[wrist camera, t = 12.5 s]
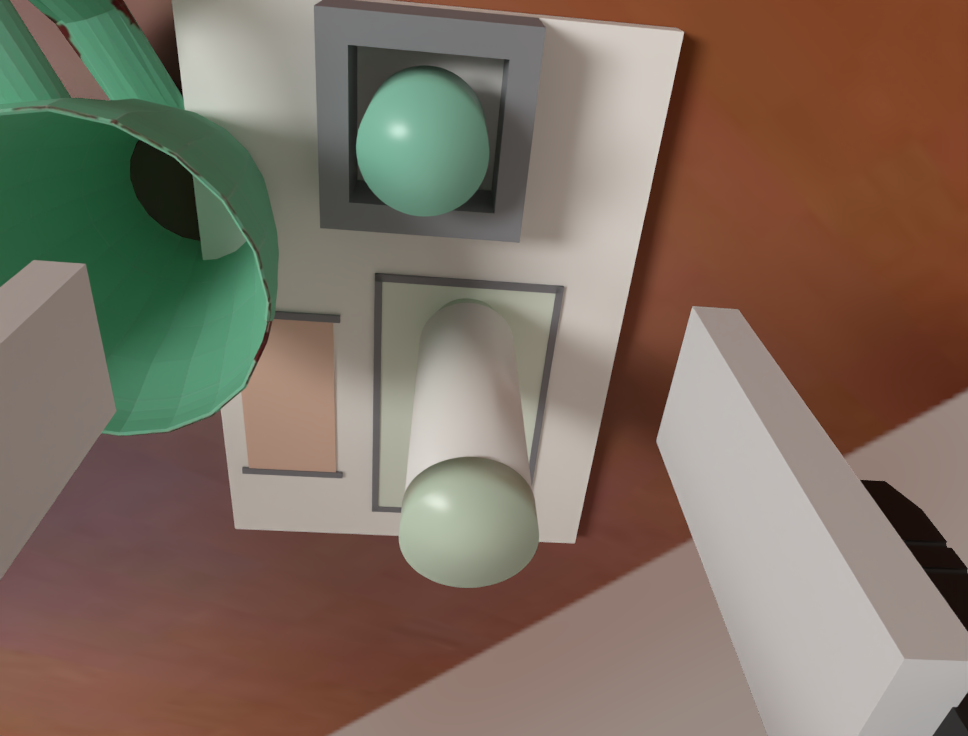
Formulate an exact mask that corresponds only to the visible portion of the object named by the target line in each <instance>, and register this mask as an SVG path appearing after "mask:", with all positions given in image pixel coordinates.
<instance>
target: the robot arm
mask: <svg viewBox="0 0 968 736" xmlns="http://www.w3.org/2000/svg"><path fill="white" fill-rule="evenodd" d="M115 413H116V407H115V402H114V397H113V392H112V387H111V383H110V378H109V373H108V368H107V363H106V359H105V354H104V349H103V344H102V339H101V335H100V330H99V325H98V320H97V315H96V311H95V306H94V301H93V296H92V291H91V287H90V282H89V277H88V272H87V268H86V264H82V263H68V262H54V261H39V260H33V261H32V262H31V263H29V264H28V265H27V266H26V267H24V268H23V269H22V270H21V271H20V272H18V273H17V274H16V275H15V276H13V277H12V278H11V279H10V280H9V281H7V282H6V283H5V284H4V285H2V286H1V287H0V580H1V579H2V577H3V576H4V574H5V573H6V571H7V570H8V568H9V567H10V565H11V564H12V562H13V561H14V560H15V558H16V557H17V555H18V554H19V552H20V551H21V549H22V548H23V546H24V545H25V544H26V542H27V541H28V539H29V538H30V536H31V535H32V533H33V532H34V530H35V529H36V528H37V526H38V525H39V523H40V522H41V520H42V519H43V517H44V516H45V514H46V513H47V512H48V510H49V509H50V507H51V506H52V504H53V503H54V501H55V500H56V498H57V497H58V496H59V494H60V493H61V491H62V490H63V488H64V487H65V485H66V484H67V482H68V481H69V479H70V478H71V477H72V475H73V474H74V472H75V471H76V469H77V468H78V466H79V465H80V463H81V462H82V461H83V459H84V458H85V456H86V455H87V453H88V452H89V450H90V449H91V447H92V446H93V445H94V443H95V442H96V440H97V439H98V437H99V436H100V434H101V433H102V431H103V430H104V429H105V427H106V426H107V424H108V423H109V421H110V420H111V418H112V417H113V415H114V414H115ZM656 442H657V445H658V447H659V450H660V453H661V455H662V458H663V461H664V463H665V466H666V469H667V471H668V474H669V477H670V479H671V482H672V484H673V487H674V490H675V492H676V495H677V498H678V500H679V503H680V506H681V508H682V511H683V514H684V516H685V519H686V522H687V524H688V527H689V529H690V532H691V535H692V537H693V540H694V543H695V545H696V548H697V550H698V553H699V556H700V559H701V561H702V564H703V566H704V569H705V572H706V574H707V577H708V580H709V582H710V585H711V587H712V590H713V593H714V596H715V598H716V601H717V603H718V606H719V609H720V611H721V614H722V617H723V619H724V622H725V625H726V627H727V630H728V633H729V635H730V638H731V641H732V643H733V646H734V649H735V651H736V654H737V657H738V659H739V662H740V664H741V667H742V670H743V672H744V675H745V678H746V680H747V683H748V686H749V688H750V691H751V694H752V696H753V699H754V701H755V704H756V707H757V709H758V712H759V715H760V717H761V720H762V723H763V725H764V728H765V731H766V733H767V736H968V573H967V567H966V566H965V564H964V563H963V562H962V561H961V560H960V558H959V557H958V555H957V554H956V553H955V552H954V550H953V549H952V548H947V546H946V542H947V541H946V540H945V539H944V538H943V536H942V535H941V534H940V532H939V531H938V530H937V529H936V527H935V526H934V525H933V523H932V522H931V521H930V520H929V518H928V517H927V516H926V514H925V513H924V512H923V511H922V509H920V508H919V507H918V506H916V505H915V504H914V503H913V502H911V501H910V500H909V499H907V498H906V497H905V496H904V495H902V494H901V493H900V492H898V491H897V490H896V489H894V488H893V487H892V486H891V485H889V484H888V483H887V482H885V481H868V480H859V478H858V477H857V476H856V474H855V473H854V472H853V470H852V469H851V467H850V466H849V464H848V463H847V462H846V460H845V459H844V457H843V456H842V454H841V453H840V452H839V450H838V449H837V447H836V446H835V445H834V443H833V442H832V440H831V439H830V438H829V436H828V435H827V433H826V432H825V431H824V429H823V428H822V426H821V425H820V424H819V422H818V421H817V419H816V418H815V417H814V415H813V414H812V412H811V411H810V410H809V408H808V407H807V405H806V404H805V403H804V401H803V400H802V398H801V397H800V396H799V394H798V393H797V391H796V390H795V388H794V387H793V386H792V384H791V383H790V381H789V380H788V379H787V377H786V376H785V374H784V373H783V372H782V370H781V369H780V367H779V366H778V365H777V363H776V362H775V360H774V359H773V358H772V356H771V355H770V353H769V352H768V351H767V349H766V348H765V346H764V345H763V344H762V342H761V341H760V339H759V338H758V337H757V335H756V334H755V332H754V331H753V330H752V328H751V327H750V325H749V324H748V322H747V321H746V320H745V318H744V317H743V315H742V314H741V313H740V311H739V310H738V309H726V308H711V307H697V306H692V310H691V314H690V317H689V321H688V325H687V328H686V332H685V336H684V340H683V343H682V347H681V351H680V354H679V358H678V362H677V366H676V369H675V373H674V377H673V380H672V384H671V388H670V391H669V395H668V399H667V403H666V406H665V410H664V414H663V417H662V421H661V425H660V429H659V432H658V436H657V440H656Z"/></svg>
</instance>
